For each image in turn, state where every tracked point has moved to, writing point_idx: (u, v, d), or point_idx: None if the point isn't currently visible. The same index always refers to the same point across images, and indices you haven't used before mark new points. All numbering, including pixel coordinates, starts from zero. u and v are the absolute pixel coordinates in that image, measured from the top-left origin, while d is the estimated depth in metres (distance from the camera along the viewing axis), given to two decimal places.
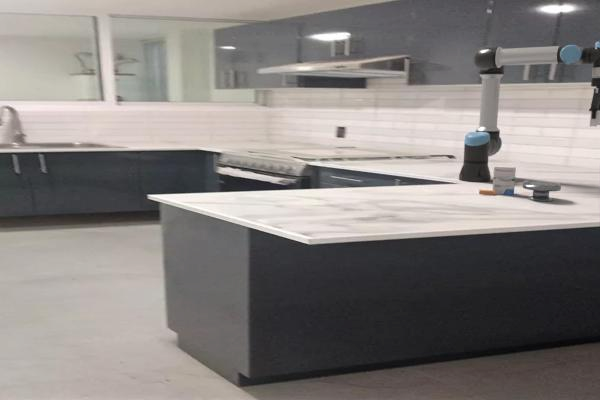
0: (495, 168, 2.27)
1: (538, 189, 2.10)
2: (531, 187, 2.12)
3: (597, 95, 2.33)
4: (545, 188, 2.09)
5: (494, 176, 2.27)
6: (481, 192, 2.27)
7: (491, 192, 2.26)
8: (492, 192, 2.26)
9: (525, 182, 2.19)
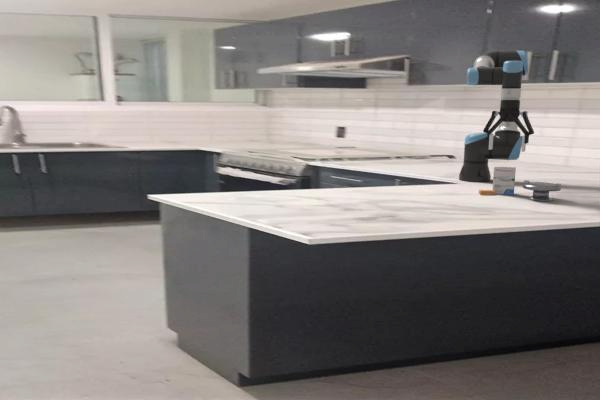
0: (495, 168, 2.27)
1: (538, 189, 2.10)
2: (531, 187, 2.12)
3: None
4: (545, 188, 2.09)
5: (494, 176, 2.27)
6: (482, 192, 2.26)
7: (492, 192, 2.26)
8: (492, 192, 2.26)
9: (525, 182, 2.19)
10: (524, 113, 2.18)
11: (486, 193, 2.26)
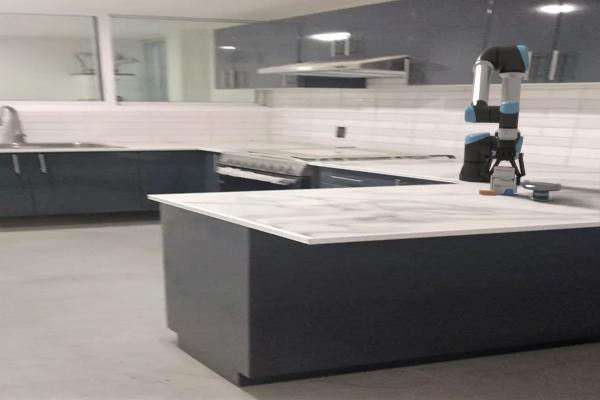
0: (495, 168, 2.27)
1: (538, 189, 2.10)
2: (531, 187, 2.12)
3: None
4: (545, 188, 2.09)
5: (494, 176, 2.27)
6: (481, 192, 2.27)
7: (491, 192, 2.26)
8: (492, 192, 2.26)
9: (525, 182, 2.19)
10: (520, 155, 2.21)
11: (485, 193, 2.26)
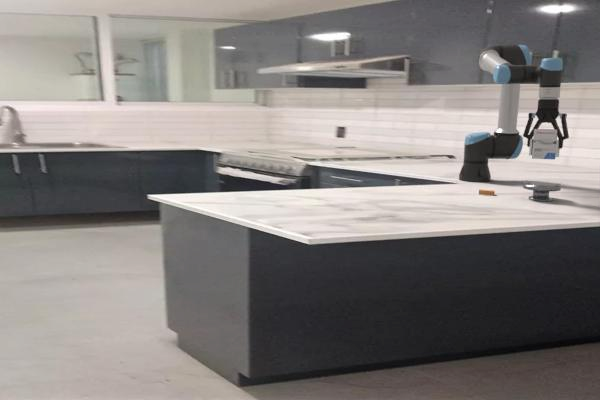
0: (535, 130, 2.11)
1: (538, 189, 2.10)
2: (531, 187, 2.12)
3: None
4: (545, 188, 2.09)
5: (534, 139, 2.12)
6: (481, 192, 2.27)
7: (490, 192, 2.25)
8: (491, 192, 2.25)
9: (525, 182, 2.19)
10: (563, 115, 2.06)
11: (485, 193, 2.27)
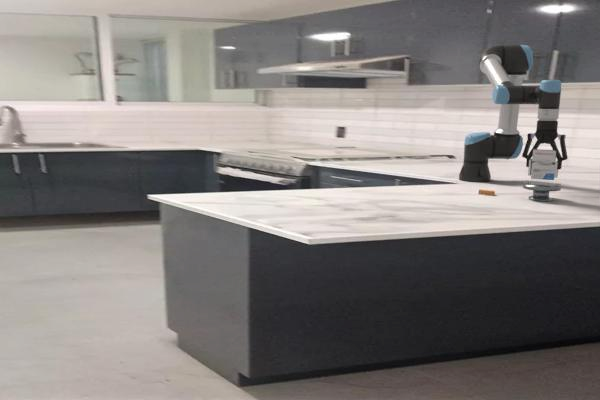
0: (534, 151, 2.13)
1: (538, 189, 2.10)
2: (531, 187, 2.12)
3: None
4: (545, 188, 2.09)
5: (533, 160, 2.13)
6: (480, 192, 2.28)
7: (490, 192, 2.25)
8: (490, 192, 2.25)
9: (525, 182, 2.19)
10: (562, 137, 2.07)
11: (484, 193, 2.27)
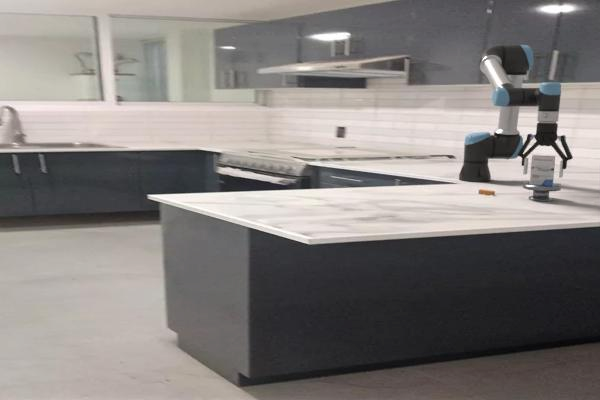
0: (533, 157, 2.13)
1: (538, 189, 2.10)
2: (531, 187, 2.12)
3: None
4: (545, 188, 2.09)
5: (532, 165, 2.14)
6: (480, 192, 2.28)
7: (489, 192, 2.25)
8: (490, 192, 2.25)
9: (525, 182, 2.19)
10: (562, 137, 2.07)
11: (484, 193, 2.27)
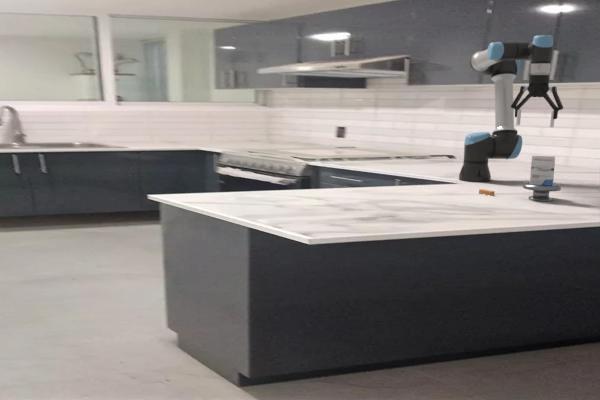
0: (533, 157, 2.13)
1: (538, 189, 2.10)
2: (531, 187, 2.12)
3: None
4: (545, 188, 2.09)
5: (532, 165, 2.14)
6: (480, 191, 2.29)
7: (488, 192, 2.25)
8: (488, 193, 2.25)
9: (525, 182, 2.19)
10: (554, 88, 2.17)
11: (483, 193, 2.27)
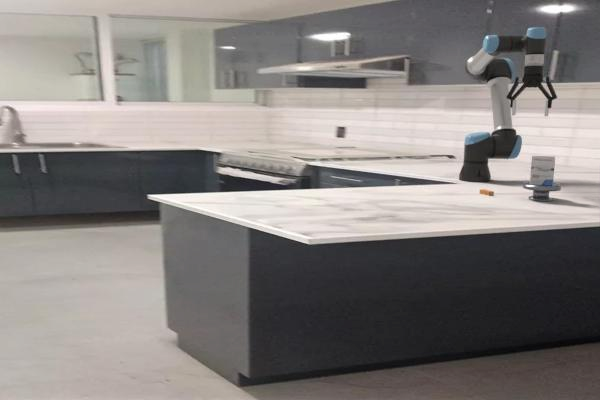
0: (533, 157, 2.13)
1: (538, 189, 2.10)
2: (531, 187, 2.12)
3: None
4: (545, 188, 2.09)
5: (532, 165, 2.14)
6: (481, 191, 2.29)
7: (487, 192, 2.25)
8: (487, 192, 2.25)
9: (525, 182, 2.19)
10: (547, 78, 2.24)
11: (483, 193, 2.27)
